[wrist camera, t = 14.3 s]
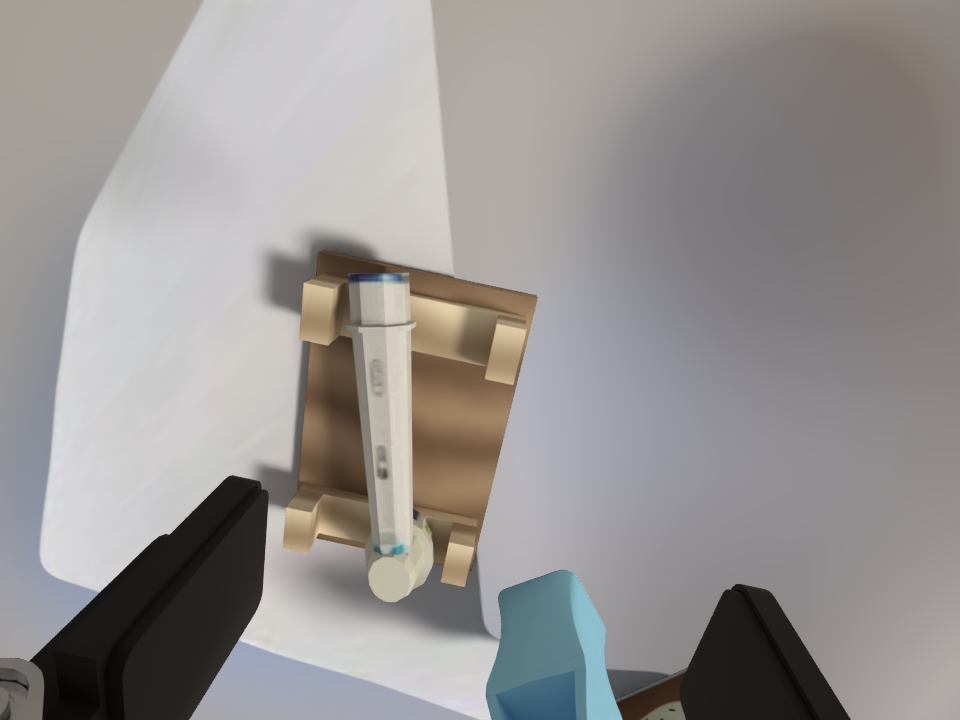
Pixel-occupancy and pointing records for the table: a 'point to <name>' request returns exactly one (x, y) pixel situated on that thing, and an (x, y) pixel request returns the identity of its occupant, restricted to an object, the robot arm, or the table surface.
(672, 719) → the food container
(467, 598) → the table surface
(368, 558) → the white electric toothbrush
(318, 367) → the v block cradle
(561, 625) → the vase
